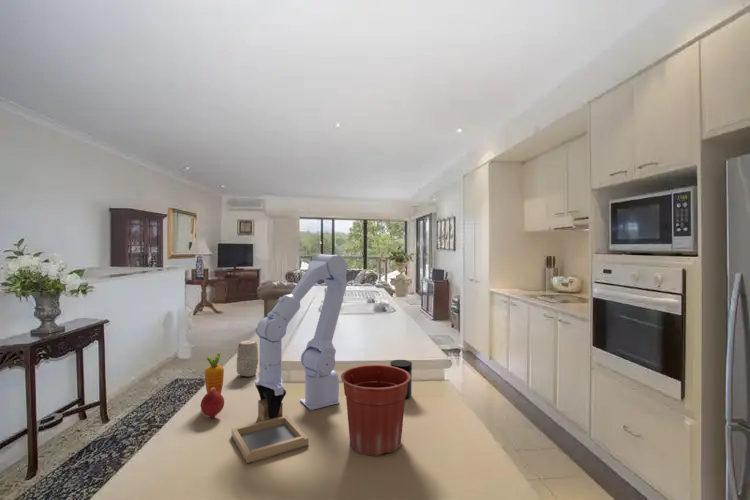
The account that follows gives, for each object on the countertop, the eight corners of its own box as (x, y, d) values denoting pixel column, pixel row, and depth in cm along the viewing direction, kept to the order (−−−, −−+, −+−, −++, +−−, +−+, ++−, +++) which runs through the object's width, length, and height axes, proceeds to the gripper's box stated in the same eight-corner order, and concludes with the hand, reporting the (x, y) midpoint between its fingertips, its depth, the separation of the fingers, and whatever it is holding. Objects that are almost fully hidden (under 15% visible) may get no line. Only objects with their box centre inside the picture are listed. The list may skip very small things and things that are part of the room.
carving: (261, 374, 138) (262, 341, 137) (242, 380, 132) (242, 345, 132) (252, 370, 142) (252, 338, 142) (233, 375, 136) (233, 341, 136)
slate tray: (286, 422, 101) (286, 413, 101) (308, 445, 89) (308, 436, 89) (231, 436, 93) (231, 427, 93) (247, 464, 82) (247, 453, 82)
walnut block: (276, 412, 107) (276, 396, 107) (282, 419, 103) (282, 402, 102) (258, 417, 104) (258, 400, 104) (263, 424, 100) (263, 407, 100)
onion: (215, 423, 100) (215, 393, 100) (195, 421, 101) (195, 391, 101) (228, 414, 106) (228, 385, 105) (209, 412, 107) (209, 383, 107)
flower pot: (331, 433, 96) (332, 368, 95) (391, 421, 102) (391, 361, 102) (354, 469, 80) (355, 392, 80) (422, 452, 87) (423, 382, 87)
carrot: (205, 410, 108) (205, 357, 107) (204, 403, 112) (204, 352, 112) (224, 407, 110) (224, 354, 110) (222, 400, 114) (222, 350, 114)
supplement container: (413, 400, 116) (414, 366, 116) (391, 401, 115) (392, 366, 115) (409, 391, 123) (409, 359, 123) (388, 392, 122) (388, 359, 122)
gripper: (248, 358, 107) (247, 406, 107) (264, 373, 95) (263, 427, 95) (272, 354, 111) (272, 401, 111) (291, 368, 99) (290, 420, 99)
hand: (270, 413), depth 103 cm, fingers closed on walnut block, 5 cm apart
